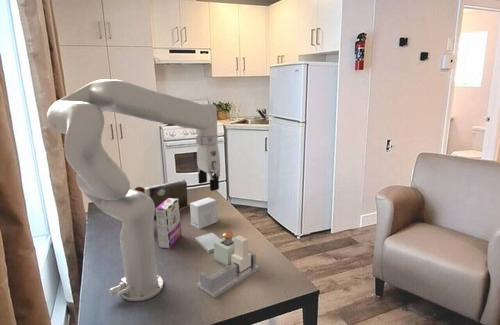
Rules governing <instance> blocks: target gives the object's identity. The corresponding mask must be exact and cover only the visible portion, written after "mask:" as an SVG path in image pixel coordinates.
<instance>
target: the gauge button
mask: <svg viewBox="0 0 500 325" xmlns="http://www.w3.org/2000/svg"><path fill="white" fill-rule="evenodd" d="M233 236H234V235H233V231H223V232H222V238H223V243H224V245H226V246H229V245H231V244H232V238H233Z"/></svg>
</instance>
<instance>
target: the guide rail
mask: <svg viewBox="0 0 500 325" xmlns="http://www.w3.org/2000/svg"><path fill="white" fill-rule="evenodd" d="M248 253H250V254H251V266H250V267H248V268H246V269H245V270H243V271H242V272H240V271H239V264H237V263H233V264H230V265H228V266H227V267H225V266H224V267H223V268H221V269H220V270H218V271H217V272H215V273H213V274H212V275H208V274H207V273H205V272H203V271H202V272H200V273H199V280H200V281H198V282H197V288H199V289H201V290H202V291H203V292H204V293H205V292H206V293H207V294H208V295H209V296H211V297H213V298H214V299H216V298H217V297H219V296H220V295H222V294H224V292H226V291H228V290H230V289H231V288H233V287H234V286H235V285H236V286H237V284H238V283H240V282H242V281H243V280H244V279H246V278H249V276H251V275H253V274H254V273H255V272H257V271H259V270H260V265H258V264H256V263H257V254H256V253H254V252H252V251H250V250H248Z"/></svg>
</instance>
